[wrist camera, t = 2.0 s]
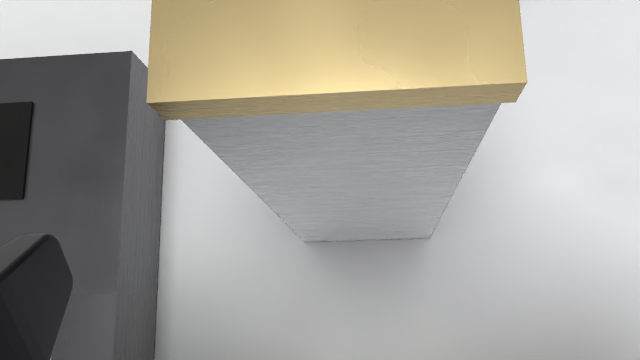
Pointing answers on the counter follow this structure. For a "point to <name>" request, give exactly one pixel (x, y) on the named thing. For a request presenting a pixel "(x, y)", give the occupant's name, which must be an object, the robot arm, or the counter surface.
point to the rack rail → (88, 191)
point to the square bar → (339, 101)
